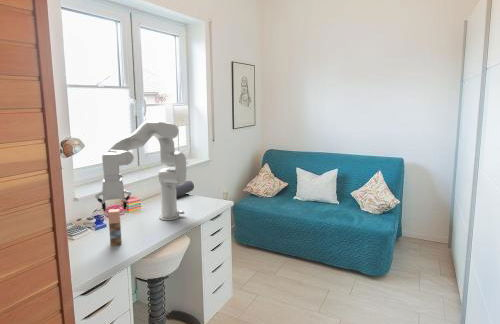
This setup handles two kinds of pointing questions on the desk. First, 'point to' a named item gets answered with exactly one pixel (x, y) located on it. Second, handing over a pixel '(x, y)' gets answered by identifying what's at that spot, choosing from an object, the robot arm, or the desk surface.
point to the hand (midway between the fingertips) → (114, 209)
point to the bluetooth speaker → (184, 188)
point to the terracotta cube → (114, 216)
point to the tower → (115, 234)
